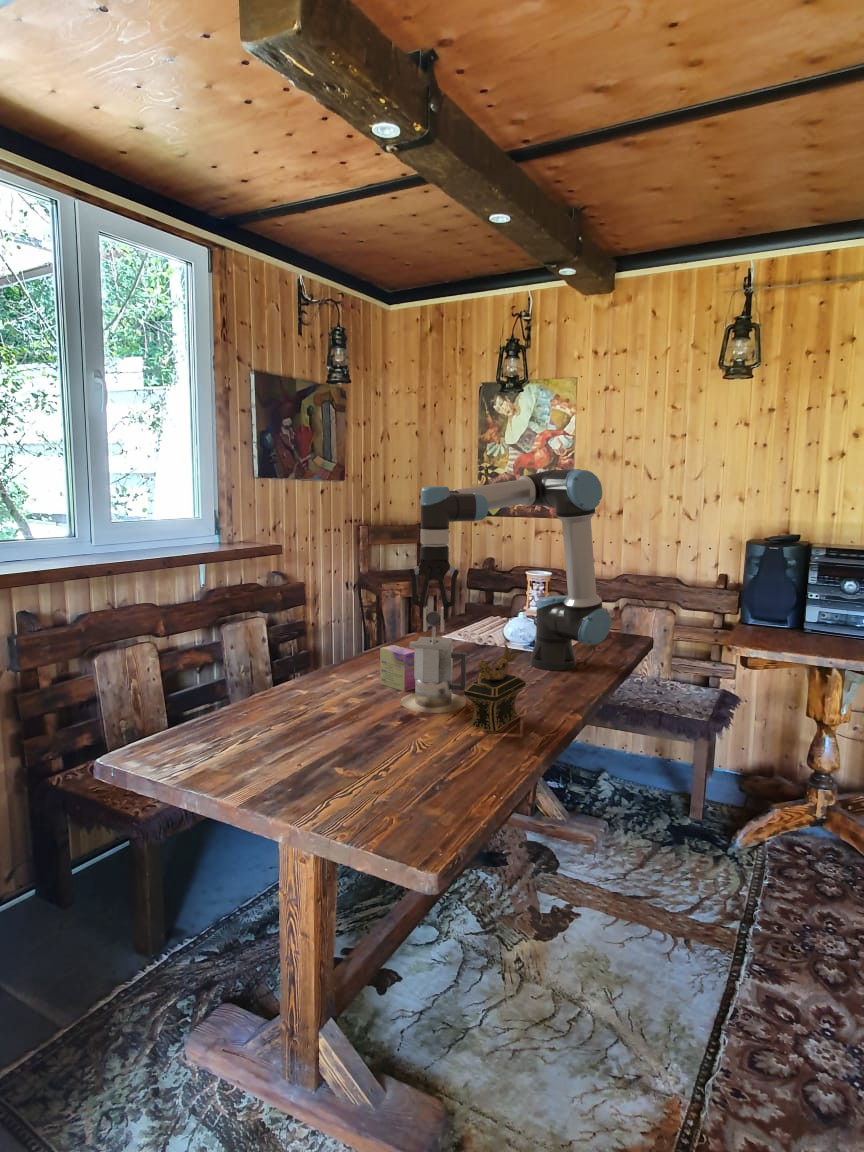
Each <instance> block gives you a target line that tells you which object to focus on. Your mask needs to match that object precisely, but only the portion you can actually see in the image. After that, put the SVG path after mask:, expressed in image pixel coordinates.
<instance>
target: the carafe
mask: <svg viewBox="0 0 864 1152" xmlns="http://www.w3.org/2000/svg"><path fill="white" fill-rule="evenodd" d="M408 649H413V650H414V678H415V688H414V693H415V703H416V704H418V705H420V706H423V707H430V708H438V707H444V706H448V705H450V704H451V702H452V694H453V691H452V690H454V691H464V689H465V688H467V686H466V685H467V652H465V651H464V652H463V651H454V644H453V637H439V636H438V637H436V642H432V636H419V637H418V638H417V640H415V641H412V640H411V641H410V642H409V648H408ZM454 659H460V683H459V682H453V673H454V672H453V665H454V664H453V663H454V662H453V660H454Z"/></svg>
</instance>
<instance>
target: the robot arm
mask: <svg viewBox="0 0 864 1152" xmlns="http://www.w3.org/2000/svg"><path fill="white" fill-rule="evenodd" d="M602 499H603V487H602V483H601V481H600V479H599V478H598V476H597V475H596V474H595V473H594V472H592V471H590V470H586V469H580V468H574V469H573V468H571V469H548V470H545V471H544V470H543V471H539V472H535V473H530V474H528V475H527V474H526V475H521V476H519V477H518V478H517V479H515V480H510V481H504V482H503V481H502V482H495V483H490V484H483V485H478V486H477V485H476V486H470V487H465V488H458V489H453V490H452V489H451V490H450V488H449V487H448V486H431V485H430V486H424V487H422V488H421V491H420V503H419V505H420V544H421V546H420V553H419V554H420V562H419V563H418V565H417V566H415V567H411V568H410V569H409V571H408V573H409V574H410V576H411V591H412V593H411V594H412V595H411V596H412V597H411V598H412V604H413V605H415V606H417V607H418V608H419V609H418V610H419V613H418V614H419V617H418V618H419V620H422V621H423V623H422V625H423V626H422V629H423V630H422V631H423V632H424V633H426V632H427V631H428V622H427V615H428V614H429V612H428V606H427V605H426V601H427V597H428V591H429V586H430V583H431V581H432V580H436V581H438V586H439V590H440V591H439V592H440V597H441V600H442V601H441V602H442V605H443V606H441V607H440V615H441V622H440V623H439V625H440V627H439V628H440V629H439V630H440V631H439V632H440V633H444V632H445V621H448V619H449V613H450V611H449V608H450V607H454V606H455V604H456V597H457V583H458V582H457V581H458V580H457V579H458V575H459V573H460V569H459V568H455V567H452V566H451V564H450V562H449V561H450V559H449V557H450V556H449V554H450V552H449V551H450V548H449V546H448V544H449V543H450V536H449V535H450V523H453V522H473V523H474V522H478V521H483V520H484V519H485V518H486V517H487V515H488V512H489V511H491V510H496V509H503V508H508V507H509V508H510V507H514V506H515V507H516V506H520V505H521V506H523V507H526V508H527V507H534V506H535V507H536V506H537V507H549V508H555V516H556V517H557V519H559V520H560V521H561V525H562V539H563V550H564V551H563V552H564V562H565V576H566V582H567V585H566V586H567V587H566V588H567V595H549V596H542V597H540V598H538V600H537V606H536V609H535V611H536V622H535V623H536V624H535V625H536V630H535V631H536V632H535V635H536V636H535V637H536V638H535V643H534V645H533V649H532V651H531V653H530V658H529V664H530V665H531V666H532V667H534V668H536V669H541V670H547V671H567V670H572V669H575V668H576V667H577V657H576V653H575V651H574V646H573V643H572V641H574V642H577V643H581V644H583V645H589V646H594V645H598V644H600V643H602V642H603V641H604V640H605V639H606V637H607V636H608V634H609V633H610V631H611V627H612V616H611V614H610V612H609V611H608V610H606V609H604V608H603V599H602V598H601V597H600V596H599V595H598V594H597V585H596V572H595V571H596V570H595V558H594V545H593V543H594V542H593V531H592V517H594V515H595V514H596V508H597V507H598V506H599V504H600V503H601V500H602ZM419 571H420V572H421V574H422V575H423V576H424V579H423V585H422V591H421V594H420V600H419V579H418V575H419V573H420V572H419ZM448 572H449V575H450V576H451V580H450V581H451V582H450V596H449V597H450V600H449V599H448V598H449V597H448V593H447V592H448V591H447V588H446V582H445V576H446V575H447V573H448Z"/></svg>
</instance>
